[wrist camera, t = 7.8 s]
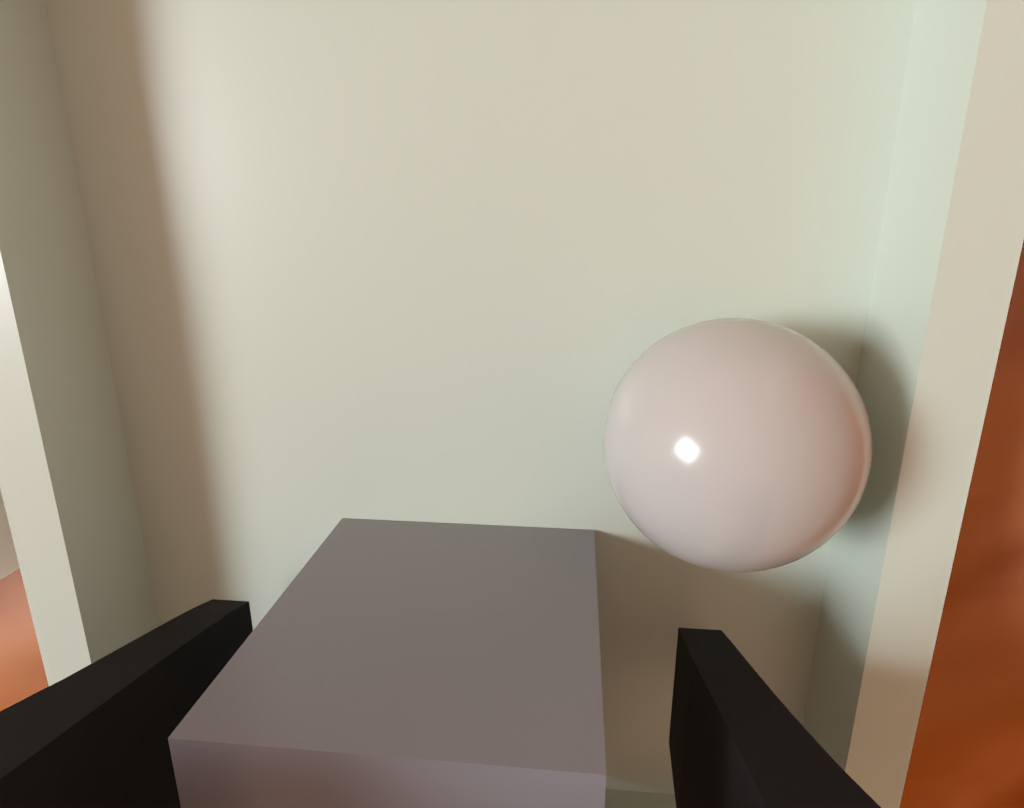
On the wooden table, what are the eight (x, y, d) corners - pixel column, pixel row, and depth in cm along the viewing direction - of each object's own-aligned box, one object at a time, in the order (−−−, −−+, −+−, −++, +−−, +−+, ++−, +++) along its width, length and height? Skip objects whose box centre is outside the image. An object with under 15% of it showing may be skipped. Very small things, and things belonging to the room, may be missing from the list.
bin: (822, 818, 11) (871, 939, 10) (164, 760, 13) (91, 857, 11) (1012, -267, 7) (1175, -450, 5) (-20, -196, 8) (-199, -321, 6)
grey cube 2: (585, 740, 11) (591, 1081, 7) (359, 723, 11) (223, 1033, 7) (593, 529, 10) (606, 773, 5) (342, 517, 10) (167, 738, 6)
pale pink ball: (800, 508, 9) (899, 636, 6) (595, 500, 10) (602, 619, 7) (828, 303, 8) (958, 346, 6) (603, 301, 9) (615, 339, 6)
